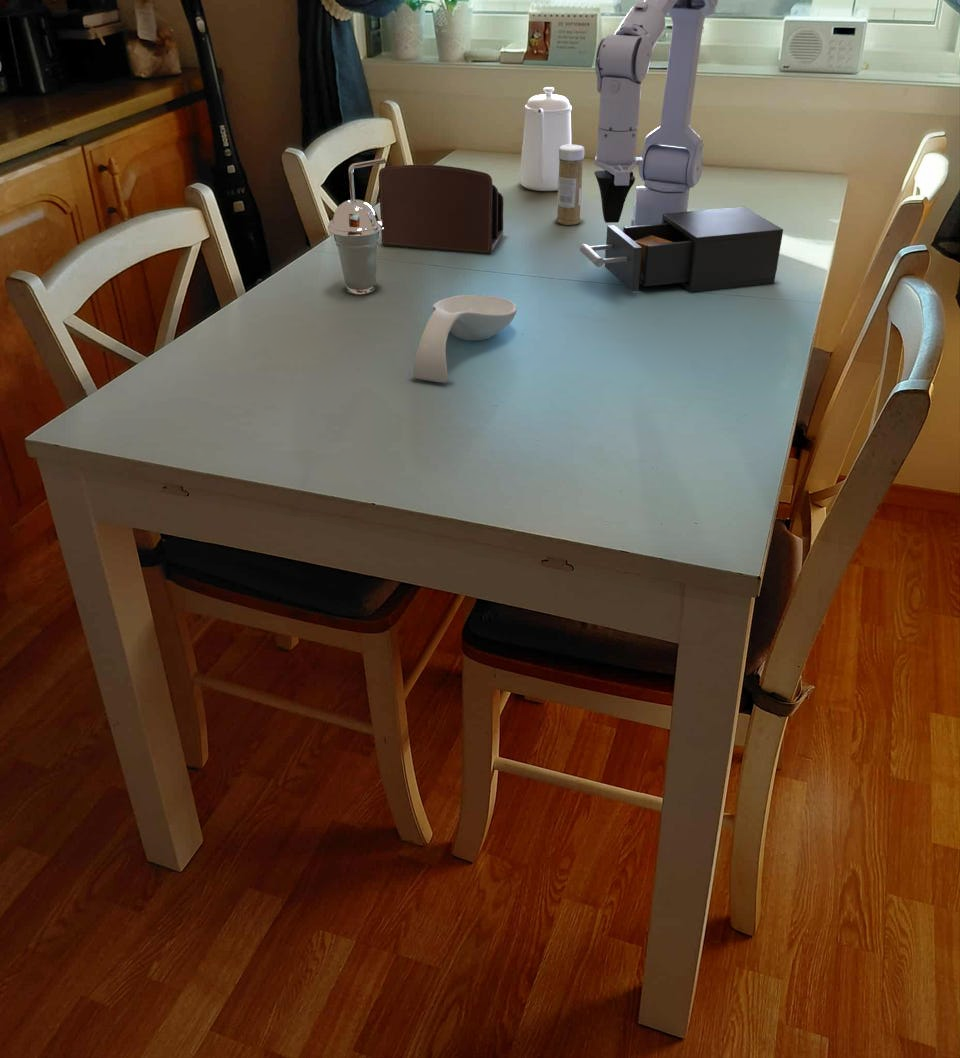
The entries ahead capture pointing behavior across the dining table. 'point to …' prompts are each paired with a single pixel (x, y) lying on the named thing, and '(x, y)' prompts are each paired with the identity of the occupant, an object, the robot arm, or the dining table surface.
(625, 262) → the dark grey drawer
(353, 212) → the cup with straw
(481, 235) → the letter holder
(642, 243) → the block
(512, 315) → the spoon rest
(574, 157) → the spice jar
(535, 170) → the coffeepot
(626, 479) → the dining table surface
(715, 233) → the black drawer cabinet
